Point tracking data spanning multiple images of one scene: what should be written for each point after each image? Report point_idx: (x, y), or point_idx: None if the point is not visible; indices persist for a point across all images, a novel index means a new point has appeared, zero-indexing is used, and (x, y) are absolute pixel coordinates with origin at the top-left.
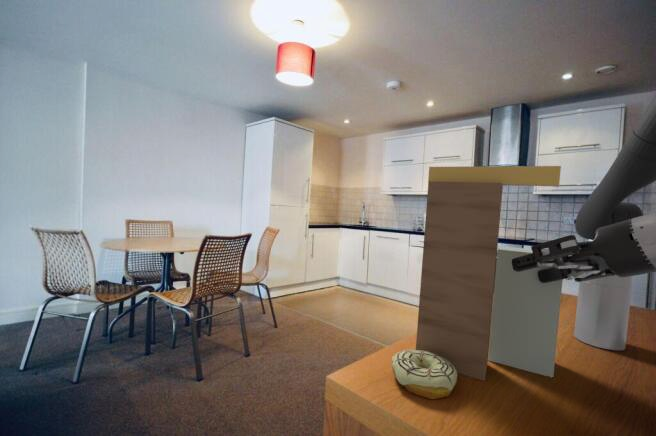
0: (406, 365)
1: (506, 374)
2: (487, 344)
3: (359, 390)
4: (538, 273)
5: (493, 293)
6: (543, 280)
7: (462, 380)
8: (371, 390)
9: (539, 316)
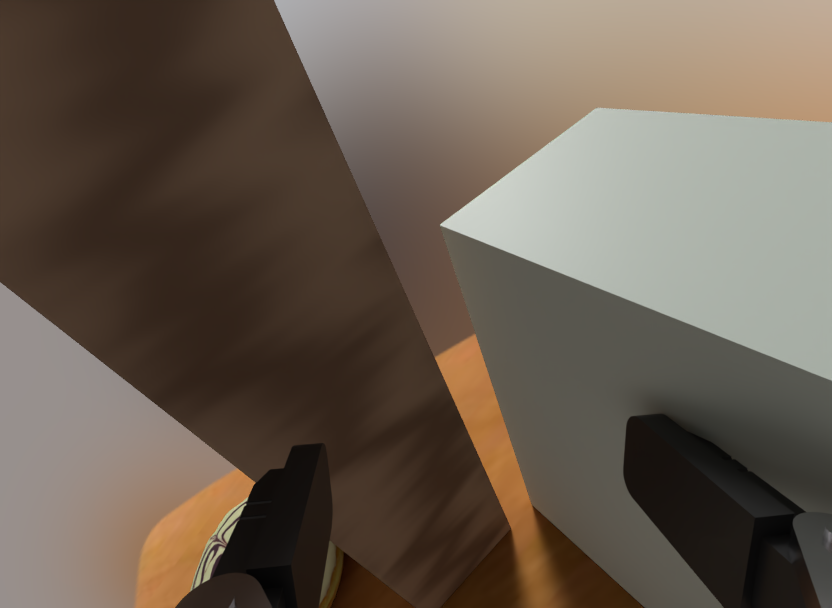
0: (201, 573)
1: (531, 596)
2: (391, 587)
3: (145, 584)
4: (628, 430)
5: (456, 412)
6: (636, 495)
7: (373, 597)
8: (162, 590)
9: (661, 540)
